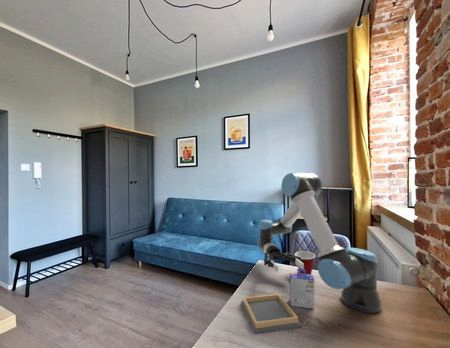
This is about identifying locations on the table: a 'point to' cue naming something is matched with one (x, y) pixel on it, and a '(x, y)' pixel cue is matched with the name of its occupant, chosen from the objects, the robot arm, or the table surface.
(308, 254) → the plastic cup
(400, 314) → the table surface
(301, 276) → the ink cartridge box
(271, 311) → the tray
